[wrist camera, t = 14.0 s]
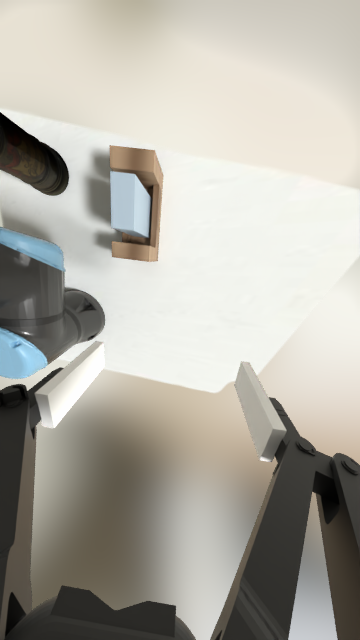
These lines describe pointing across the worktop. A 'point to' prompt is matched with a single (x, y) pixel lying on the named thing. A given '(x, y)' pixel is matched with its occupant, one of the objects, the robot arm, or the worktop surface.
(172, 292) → the worktop surface
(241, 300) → the worktop surface
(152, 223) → the frame
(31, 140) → the container
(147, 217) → the door
